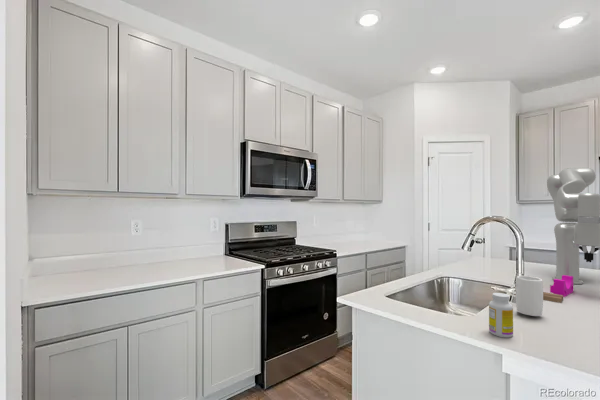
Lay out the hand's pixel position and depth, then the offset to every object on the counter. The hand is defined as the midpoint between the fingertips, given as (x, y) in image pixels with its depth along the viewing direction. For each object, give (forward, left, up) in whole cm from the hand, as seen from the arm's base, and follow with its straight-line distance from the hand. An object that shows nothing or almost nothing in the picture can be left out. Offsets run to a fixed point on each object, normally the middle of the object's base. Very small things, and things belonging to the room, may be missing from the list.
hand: (588, 261), depth 142 cm
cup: (+46, -14, -17) cm, 50 cm away
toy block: (-1, -10, -17) cm, 19 cm away
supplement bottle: (+73, -17, -17) cm, 76 cm away
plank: (+15, -17, -16) cm, 27 cm away
